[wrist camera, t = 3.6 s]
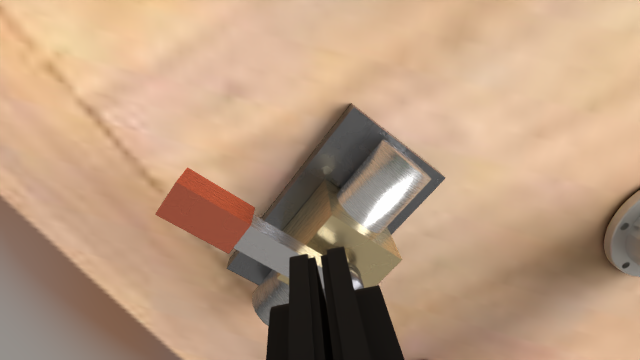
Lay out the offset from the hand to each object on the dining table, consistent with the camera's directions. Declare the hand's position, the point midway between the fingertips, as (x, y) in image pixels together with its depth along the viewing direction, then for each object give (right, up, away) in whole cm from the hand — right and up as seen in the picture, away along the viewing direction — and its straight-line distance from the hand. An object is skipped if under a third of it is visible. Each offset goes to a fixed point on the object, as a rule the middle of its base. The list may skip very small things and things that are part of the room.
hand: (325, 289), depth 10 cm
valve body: (+1, 0, +23) cm, 23 cm away
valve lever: (-3, -1, +13) cm, 14 cm away
